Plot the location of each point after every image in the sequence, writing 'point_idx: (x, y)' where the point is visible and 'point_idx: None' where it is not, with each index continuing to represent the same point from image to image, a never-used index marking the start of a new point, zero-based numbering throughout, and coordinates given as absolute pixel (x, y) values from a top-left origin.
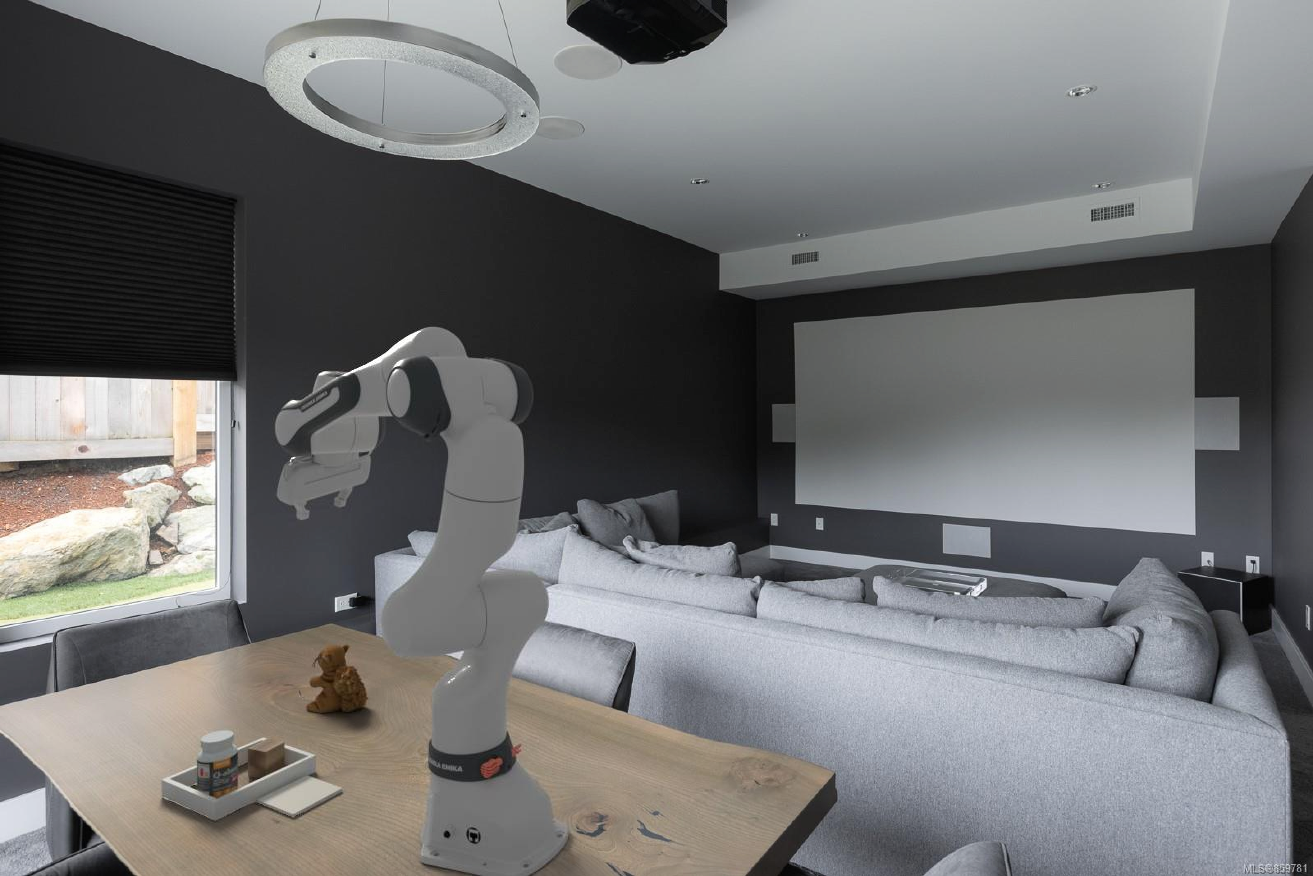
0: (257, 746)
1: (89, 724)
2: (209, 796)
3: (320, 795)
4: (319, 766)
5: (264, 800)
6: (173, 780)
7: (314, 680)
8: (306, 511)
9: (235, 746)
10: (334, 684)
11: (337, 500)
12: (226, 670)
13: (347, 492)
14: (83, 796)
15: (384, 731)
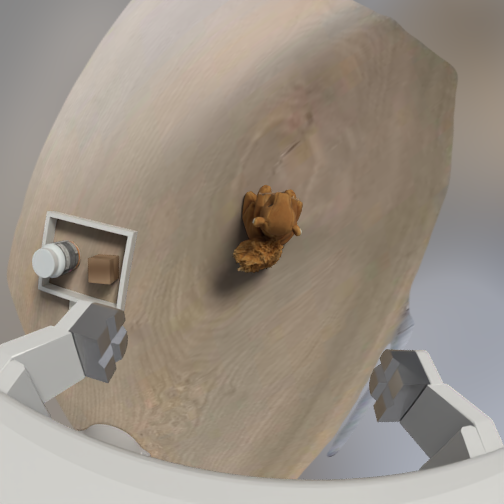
0: (94, 264)
1: (164, 17)
2: (41, 277)
3: None
4: (133, 306)
5: (71, 305)
6: (48, 223)
7: (258, 198)
8: (88, 375)
9: (59, 272)
10: (238, 247)
11: (391, 391)
12: (322, 30)
13: (432, 451)
14: (47, 145)
15: (219, 320)
